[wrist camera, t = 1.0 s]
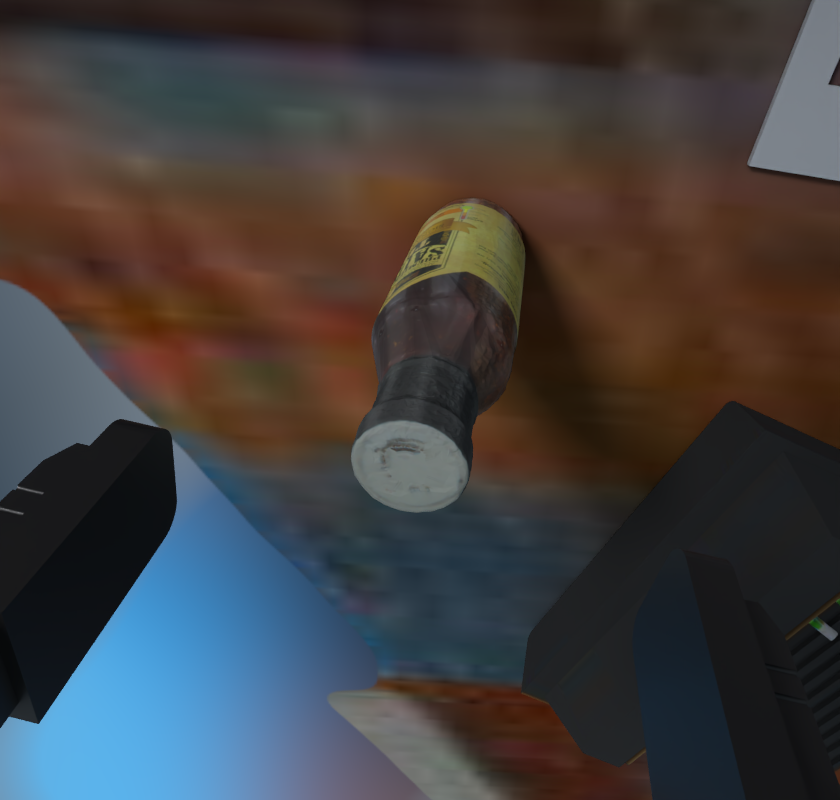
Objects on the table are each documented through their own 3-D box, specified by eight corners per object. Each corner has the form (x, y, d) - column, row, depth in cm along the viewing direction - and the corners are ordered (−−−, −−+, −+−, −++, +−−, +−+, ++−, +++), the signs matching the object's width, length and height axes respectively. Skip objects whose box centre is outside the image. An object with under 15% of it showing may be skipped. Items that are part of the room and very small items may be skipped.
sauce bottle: (448, 172, 35) (363, 337, 18) (547, 226, 36) (551, 431, 19) (399, 272, 39) (291, 484, 22) (490, 319, 39) (452, 559, 23)
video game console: (778, 736, 57) (819, 864, 49) (523, 630, 55) (519, 745, 46) (1080, 534, 41) (1216, 672, 33) (738, 376, 39) (790, 480, 31)
